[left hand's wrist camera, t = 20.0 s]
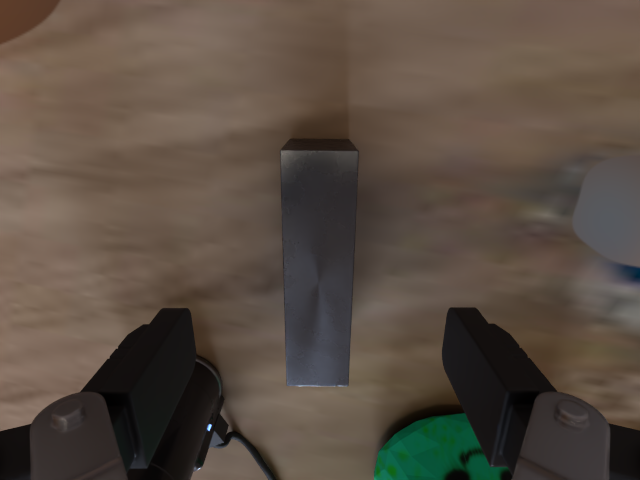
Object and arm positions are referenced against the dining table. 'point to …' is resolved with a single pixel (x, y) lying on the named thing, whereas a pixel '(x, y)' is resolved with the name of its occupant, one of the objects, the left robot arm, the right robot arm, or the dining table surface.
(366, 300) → the dining table surface
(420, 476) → the toy
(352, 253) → the box
